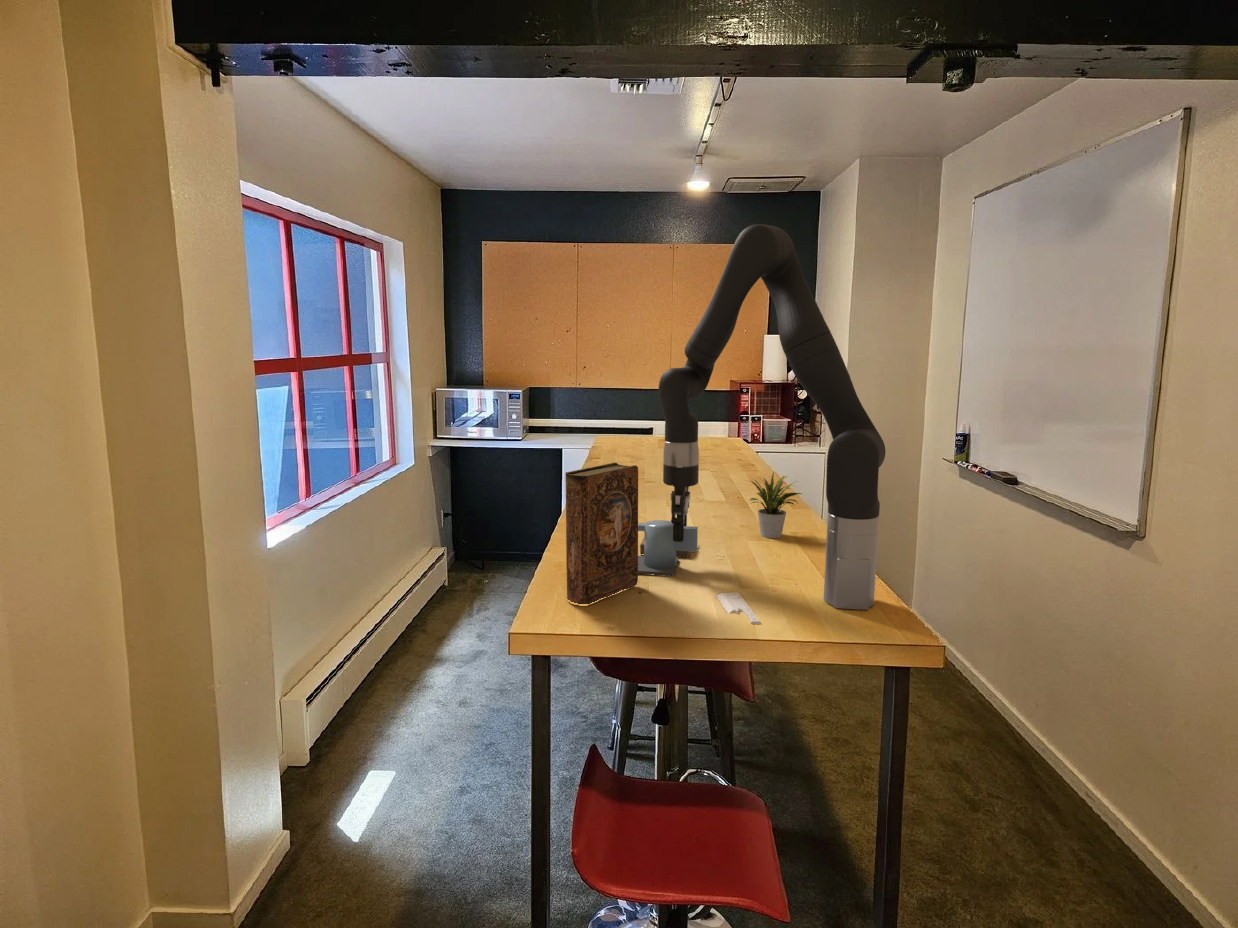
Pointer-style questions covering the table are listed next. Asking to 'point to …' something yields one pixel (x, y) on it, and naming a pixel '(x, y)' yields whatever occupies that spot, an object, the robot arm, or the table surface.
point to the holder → (678, 553)
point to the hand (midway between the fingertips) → (679, 535)
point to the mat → (646, 570)
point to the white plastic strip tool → (737, 605)
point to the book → (601, 531)
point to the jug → (665, 543)
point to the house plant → (772, 508)
